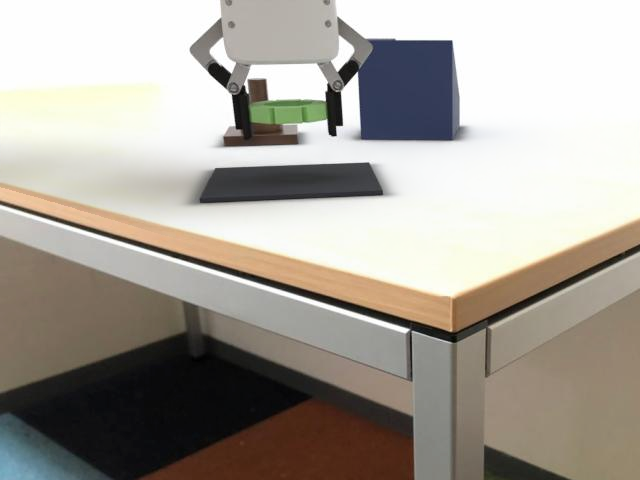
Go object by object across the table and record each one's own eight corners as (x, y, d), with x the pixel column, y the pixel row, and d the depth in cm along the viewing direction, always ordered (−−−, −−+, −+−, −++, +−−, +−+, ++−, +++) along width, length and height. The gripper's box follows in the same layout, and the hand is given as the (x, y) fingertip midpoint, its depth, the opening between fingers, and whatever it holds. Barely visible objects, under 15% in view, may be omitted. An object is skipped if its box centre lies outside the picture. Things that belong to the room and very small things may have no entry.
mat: (200, 202, 65) (199, 198, 65) (215, 171, 78) (215, 167, 77) (383, 194, 68) (382, 190, 67) (369, 165, 80) (369, 162, 80)
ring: (248, 125, 66) (246, 108, 66) (252, 115, 73) (250, 100, 72) (329, 122, 68) (328, 106, 67) (326, 113, 74) (325, 98, 73)
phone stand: (459, 126, 107) (459, 37, 102) (452, 139, 96) (452, 40, 91) (377, 125, 108) (373, 37, 103) (361, 138, 97) (356, 40, 92)
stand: (224, 146, 92) (216, 82, 89) (230, 135, 100) (223, 76, 97) (298, 143, 94) (292, 81, 91) (297, 133, 102) (293, 75, 99)
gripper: (369, -71, 69) (378, 127, 76) (171, -73, 66) (200, 133, 73) (377, -80, 62) (386, 138, 69) (157, -83, 59) (190, 146, 66)
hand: (290, 134), depth 71 cm, fingers closed on ring, 7 cm apart
